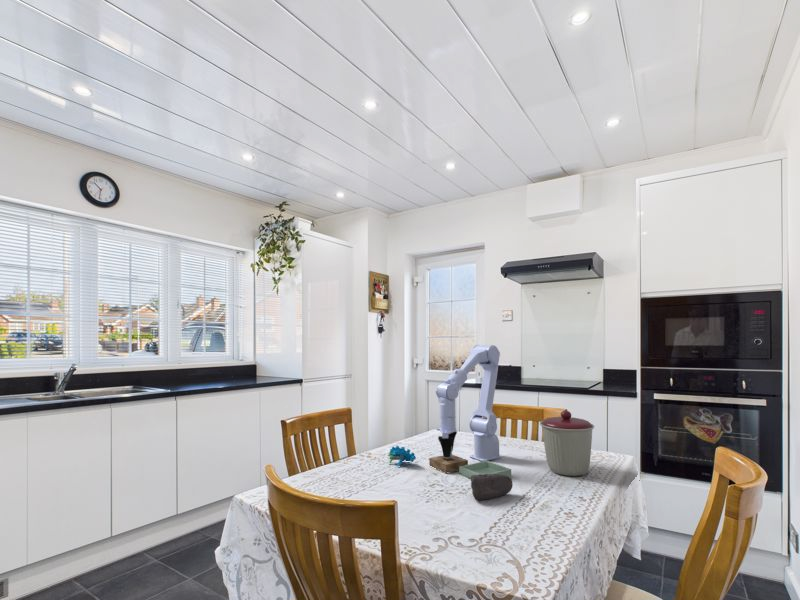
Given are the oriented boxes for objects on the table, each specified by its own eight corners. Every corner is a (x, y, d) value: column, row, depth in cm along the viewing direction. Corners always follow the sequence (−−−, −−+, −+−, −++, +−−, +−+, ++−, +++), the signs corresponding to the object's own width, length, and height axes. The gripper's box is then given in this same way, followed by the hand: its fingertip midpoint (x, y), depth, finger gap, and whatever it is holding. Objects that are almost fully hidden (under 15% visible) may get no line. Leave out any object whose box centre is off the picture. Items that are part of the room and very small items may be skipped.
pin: (449, 466, 161) (448, 443, 161) (453, 467, 159) (453, 445, 159) (443, 467, 159) (443, 444, 160) (447, 469, 157) (447, 446, 158)
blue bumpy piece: (420, 459, 164) (408, 444, 159) (416, 473, 160) (403, 458, 155) (396, 459, 170) (384, 444, 165) (392, 473, 166) (378, 458, 161)
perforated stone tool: (508, 491, 135) (507, 468, 135) (518, 497, 130) (517, 473, 130) (465, 497, 130) (464, 473, 130) (473, 504, 125) (473, 479, 125)
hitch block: (450, 461, 166) (450, 453, 166) (468, 468, 157) (467, 460, 158) (429, 466, 161) (429, 458, 161) (445, 473, 152) (445, 464, 152)
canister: (536, 475, 149) (534, 413, 150) (545, 461, 165) (543, 405, 166) (594, 483, 140) (591, 417, 142) (598, 468, 156) (595, 408, 158)
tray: (487, 467, 158) (487, 460, 158) (511, 476, 148) (511, 469, 148) (459, 474, 151) (459, 466, 152) (482, 484, 141) (482, 476, 141)
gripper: (439, 412, 168) (440, 448, 167) (433, 419, 154) (434, 458, 153) (457, 413, 167) (458, 449, 166) (453, 420, 153) (454, 460, 152)
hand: (448, 454), depth 159 cm, fingers open, 7 cm apart
